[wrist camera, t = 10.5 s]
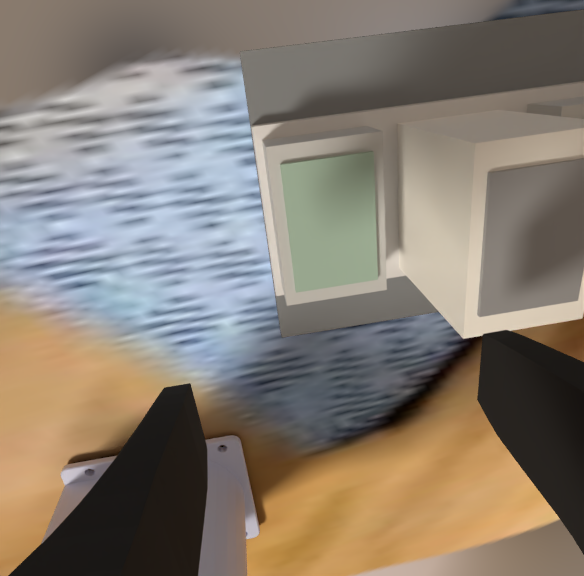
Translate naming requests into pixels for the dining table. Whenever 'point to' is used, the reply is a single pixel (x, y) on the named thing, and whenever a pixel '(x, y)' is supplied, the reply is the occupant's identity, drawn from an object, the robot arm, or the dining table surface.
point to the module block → (494, 218)
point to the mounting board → (396, 83)
